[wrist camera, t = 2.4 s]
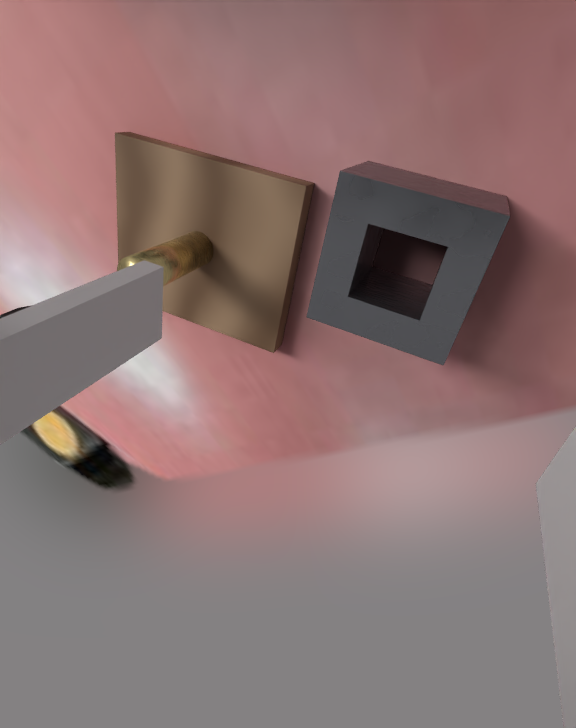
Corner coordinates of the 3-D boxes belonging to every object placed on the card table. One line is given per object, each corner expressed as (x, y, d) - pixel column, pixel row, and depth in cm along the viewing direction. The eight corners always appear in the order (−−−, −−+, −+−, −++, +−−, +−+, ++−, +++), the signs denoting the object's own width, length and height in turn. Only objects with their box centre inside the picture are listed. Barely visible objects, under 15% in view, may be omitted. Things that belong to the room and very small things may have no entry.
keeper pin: (183, 259, 33) (117, 289, 27) (184, 227, 31) (116, 251, 26) (211, 269, 32) (150, 302, 26) (214, 236, 31) (151, 263, 25)
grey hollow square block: (336, 285, 31) (306, 317, 26) (368, 160, 26) (340, 170, 21) (451, 323, 29) (443, 365, 24) (507, 196, 24) (510, 216, 20)
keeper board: (131, 288, 38) (119, 294, 36) (129, 132, 31) (114, 132, 30) (281, 344, 35) (273, 353, 33) (314, 183, 28) (306, 186, 27)
